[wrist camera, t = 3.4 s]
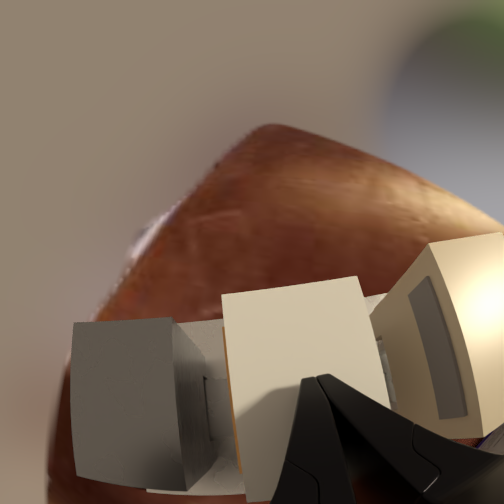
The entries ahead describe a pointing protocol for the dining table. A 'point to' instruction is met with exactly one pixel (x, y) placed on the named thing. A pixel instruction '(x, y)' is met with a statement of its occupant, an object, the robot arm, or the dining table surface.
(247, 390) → the block
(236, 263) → the dining table surface
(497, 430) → the supplement box
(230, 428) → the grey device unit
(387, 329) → the block
